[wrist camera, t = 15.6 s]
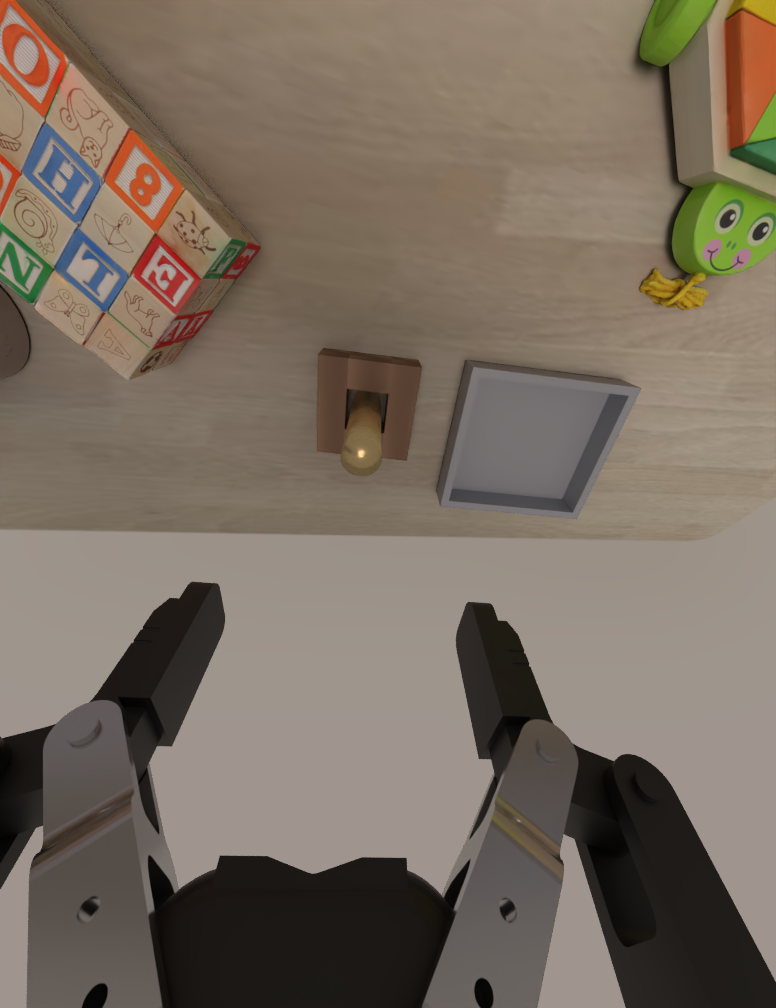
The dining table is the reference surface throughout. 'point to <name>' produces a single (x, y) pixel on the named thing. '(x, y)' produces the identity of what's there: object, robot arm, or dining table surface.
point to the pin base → (373, 376)
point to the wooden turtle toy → (718, 136)
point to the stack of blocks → (102, 204)
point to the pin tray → (530, 439)
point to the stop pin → (363, 435)
